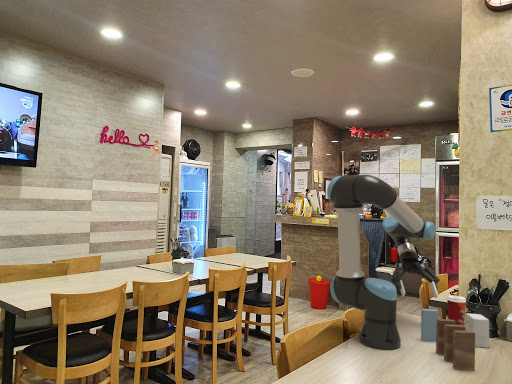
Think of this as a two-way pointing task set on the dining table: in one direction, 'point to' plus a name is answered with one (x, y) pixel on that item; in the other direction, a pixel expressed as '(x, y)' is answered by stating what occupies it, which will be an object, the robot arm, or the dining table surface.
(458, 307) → the paper cup
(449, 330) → the domino
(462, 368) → the domino
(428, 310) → the blue domino
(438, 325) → the domino
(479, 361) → the dining table surface
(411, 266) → the robot arm
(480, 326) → the small box
